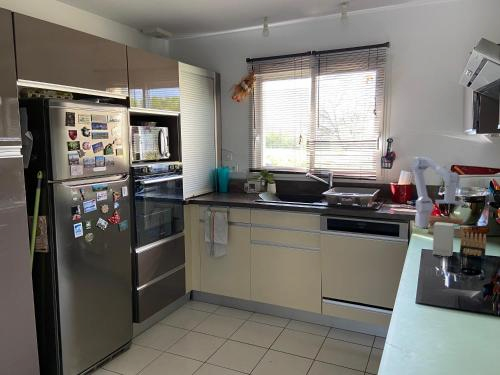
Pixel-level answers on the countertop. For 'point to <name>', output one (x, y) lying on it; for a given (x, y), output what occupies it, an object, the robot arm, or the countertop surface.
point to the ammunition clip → (473, 245)
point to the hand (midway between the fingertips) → (448, 216)
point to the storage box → (456, 231)
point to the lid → (445, 220)
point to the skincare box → (443, 238)
